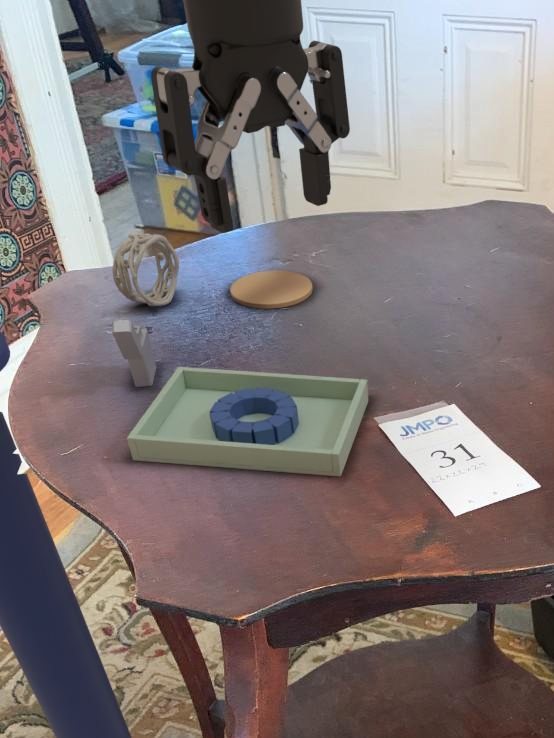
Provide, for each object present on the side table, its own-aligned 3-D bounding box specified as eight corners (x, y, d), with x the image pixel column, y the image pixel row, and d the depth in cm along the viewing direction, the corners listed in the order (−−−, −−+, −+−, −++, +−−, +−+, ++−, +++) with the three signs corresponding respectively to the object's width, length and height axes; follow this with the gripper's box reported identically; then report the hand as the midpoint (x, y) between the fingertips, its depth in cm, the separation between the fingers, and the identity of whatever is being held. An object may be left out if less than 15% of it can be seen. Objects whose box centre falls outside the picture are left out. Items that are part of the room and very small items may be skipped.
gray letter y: (139, 367, 90) (120, 294, 85) (156, 366, 91) (138, 293, 85) (131, 401, 85) (110, 326, 80) (148, 400, 86) (129, 325, 80)
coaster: (220, 306, 102) (219, 301, 101) (244, 272, 109) (243, 268, 108) (301, 311, 101) (301, 306, 100) (320, 277, 108) (320, 272, 108)
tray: (132, 460, 78) (126, 438, 76) (183, 387, 87) (178, 366, 86) (340, 476, 76) (338, 454, 75) (368, 400, 86) (367, 379, 84)
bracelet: (189, 292, 104) (175, 225, 99) (148, 318, 99) (131, 249, 94) (162, 286, 105) (147, 220, 100) (120, 312, 100) (102, 243, 95)
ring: (202, 445, 79) (198, 428, 78) (228, 401, 85) (225, 385, 84) (286, 451, 78) (283, 434, 77) (306, 407, 84) (304, 390, 83)
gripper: (294, -66, 59) (316, 183, 70) (101, -51, 52) (160, 224, 63) (362, -55, 55) (374, 207, 66) (164, -37, 48) (215, 254, 59)
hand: (270, 215), depth 64 cm, fingers open, 8 cm apart
